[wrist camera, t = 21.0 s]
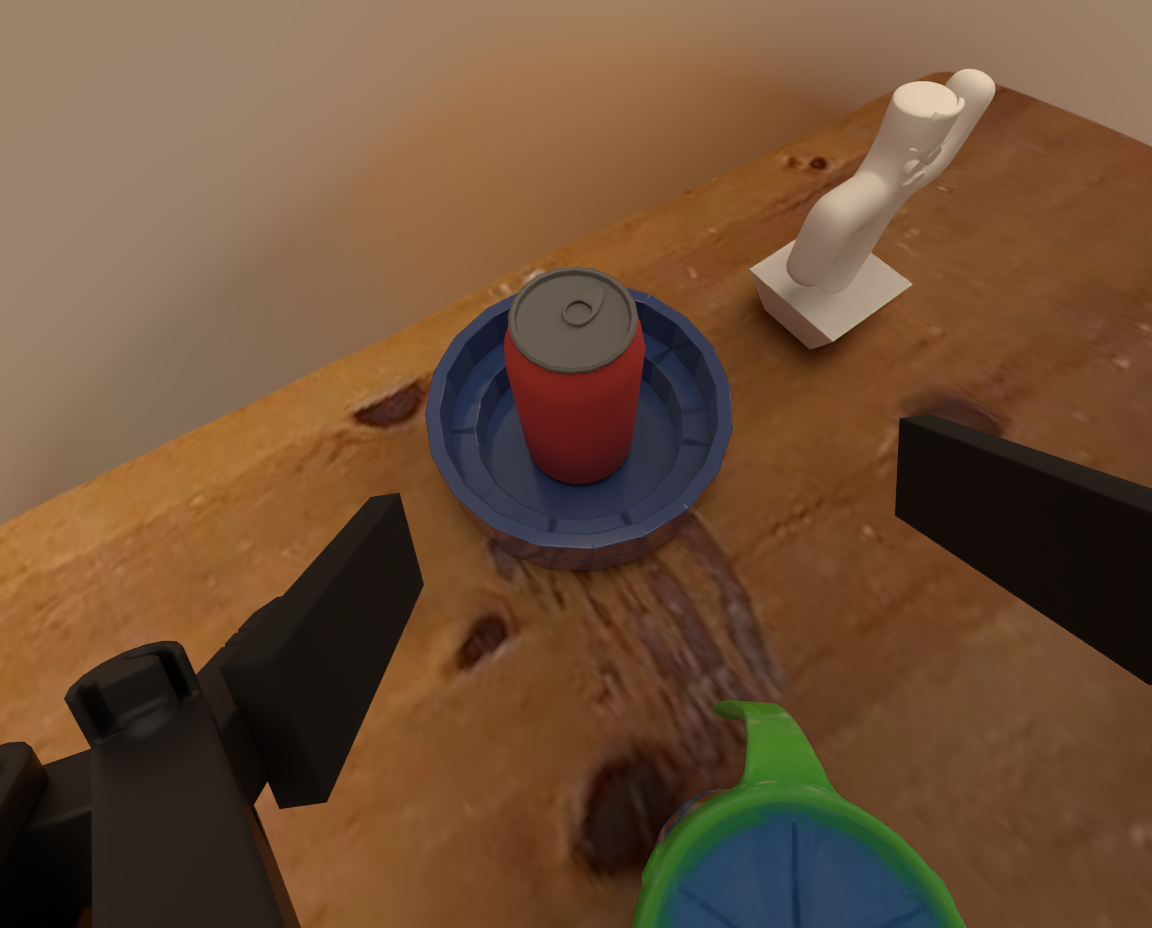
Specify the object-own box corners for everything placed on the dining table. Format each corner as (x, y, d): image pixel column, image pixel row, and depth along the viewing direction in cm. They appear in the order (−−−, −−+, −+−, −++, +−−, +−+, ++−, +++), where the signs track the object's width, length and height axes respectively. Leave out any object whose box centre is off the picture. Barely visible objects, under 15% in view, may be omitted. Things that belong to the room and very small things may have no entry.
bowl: (762, 426, 34) (791, 380, 29) (598, 633, 30) (600, 620, 25) (565, 298, 39) (562, 239, 34) (397, 459, 34) (363, 418, 29)
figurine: (724, 314, 38) (798, 97, 24) (817, 252, 40) (935, 19, 26) (799, 383, 36) (928, 186, 22) (894, 313, 38) (1068, 92, 24)
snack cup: (851, 1145, 22) (1049, 1489, 12) (592, 1079, 22) (591, 1351, 13) (842, 720, 28) (970, 733, 18) (638, 683, 29) (660, 676, 19)
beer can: (652, 431, 34) (681, 302, 23) (588, 509, 32) (586, 410, 21) (571, 377, 36) (561, 234, 25) (505, 448, 34) (463, 327, 23)
